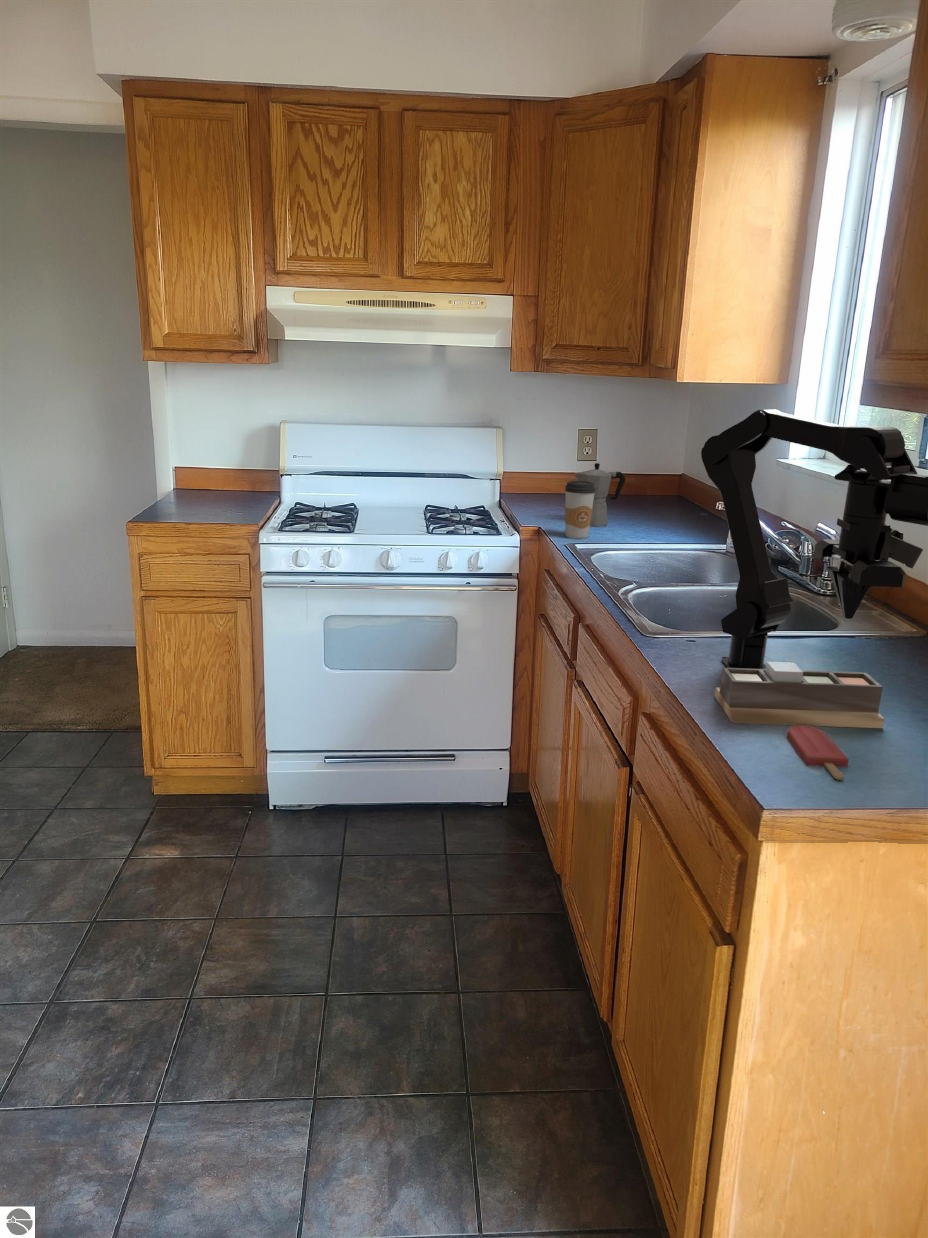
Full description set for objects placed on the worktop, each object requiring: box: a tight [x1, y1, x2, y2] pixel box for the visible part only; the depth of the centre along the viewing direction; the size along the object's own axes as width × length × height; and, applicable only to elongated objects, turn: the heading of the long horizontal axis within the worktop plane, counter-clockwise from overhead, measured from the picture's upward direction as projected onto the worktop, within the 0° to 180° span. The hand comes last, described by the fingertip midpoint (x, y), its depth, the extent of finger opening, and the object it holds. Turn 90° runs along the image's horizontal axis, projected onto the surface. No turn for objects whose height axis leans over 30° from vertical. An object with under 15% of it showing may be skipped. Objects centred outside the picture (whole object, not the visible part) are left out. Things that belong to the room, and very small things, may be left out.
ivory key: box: [731, 673, 762, 681], centre depth 132 cm, size 4×4×3 cm
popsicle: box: [786, 725, 850, 781], centre depth 119 cm, size 5×2×15 cm
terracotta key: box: [838, 677, 869, 685], centre depth 132 cm, size 4×4×3 cm
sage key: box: [803, 676, 834, 684], centre depth 132 cm, size 4×4×3 cm
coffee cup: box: [564, 480, 595, 540], centre depth 248 cm, size 8×8×15 cm
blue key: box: [765, 661, 803, 683], centre depth 132 cm, size 4×4×3 cm
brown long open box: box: [714, 667, 885, 729], centre depth 132 cm, size 10×21×6 cm, turn 89°
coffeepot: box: [573, 462, 626, 528], centre depth 266 cm, size 15×9×18 cm, turn 95°
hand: (847, 617), depth 135 cm, fingers closed
